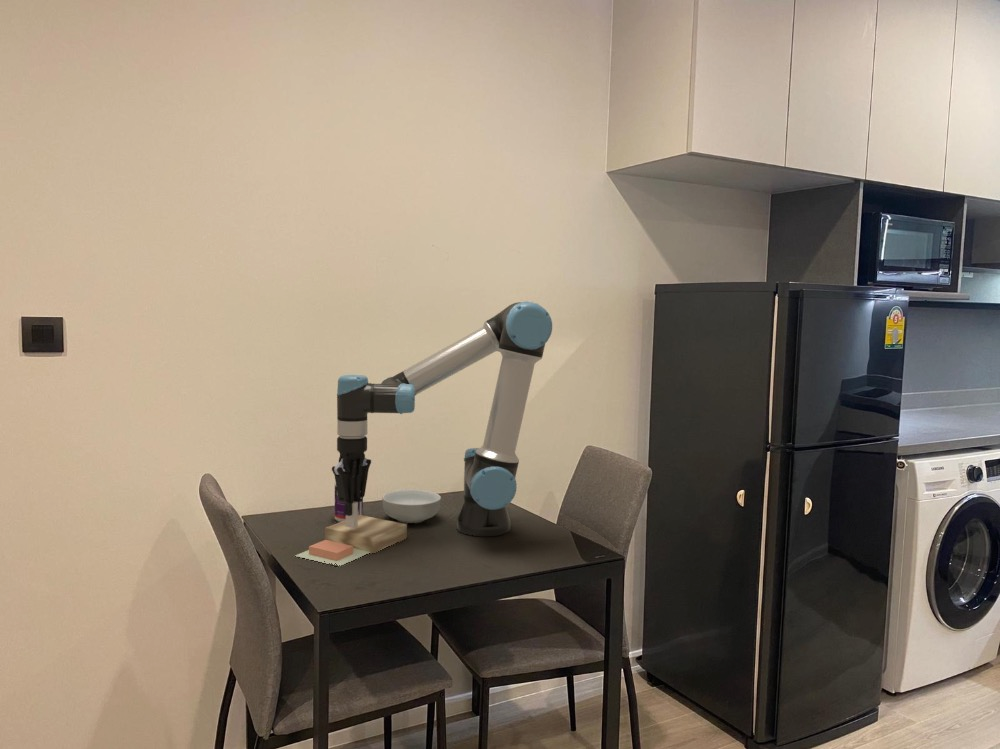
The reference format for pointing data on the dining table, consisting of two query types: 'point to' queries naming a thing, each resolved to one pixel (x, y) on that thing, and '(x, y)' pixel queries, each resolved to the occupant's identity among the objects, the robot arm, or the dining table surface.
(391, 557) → the dining table surface
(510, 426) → the robot arm
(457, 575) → the dining table surface
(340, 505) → the pill bottle
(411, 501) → the cereal bowl
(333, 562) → the mat
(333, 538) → the wooden block
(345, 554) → the pink rectangular block
